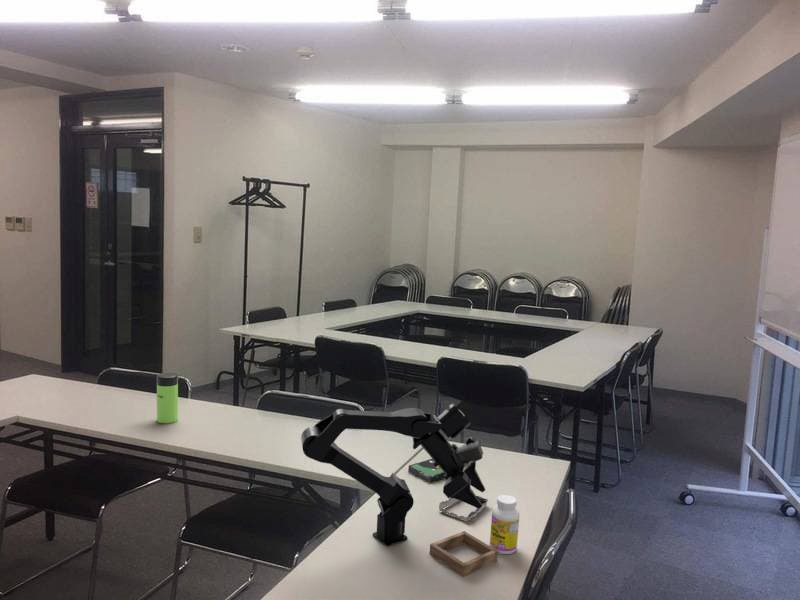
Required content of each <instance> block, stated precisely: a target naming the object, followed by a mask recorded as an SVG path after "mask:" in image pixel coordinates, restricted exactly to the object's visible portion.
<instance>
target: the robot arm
mask: <svg viewBox="0 0 800 600" xmlns="http://www.w3.org/2000/svg"><path fill="white" fill-rule="evenodd" d="M471 424H472V423H471V421H470V420H469V419H468V417H467V416H466V415H465V414H464V413H463V412H462V411H461V410H460V409H459V408H458V407H457V406H456V405H455V404H454V403H450V404H449V406H447V408H446V409H445V410H444V411H443V412H442V413H441V414H439V415H438V416H436V415H435V414H433V413H429V412H423V410H422V409H420V408H417V407H409V408H401V409H399V410H396V411H389V412H388V411H377V410H375V411H374V410H373V411H372V410H358V409H357V410H354V409H353V410H352V409H344V408H338V409H336V410H334V412H332V413H331V414H330V415H328V416H326V417H324V418H322V419H321V420H319V421H318V422H317V423H316V424H314V425H313V426H308V427H307V428H305V429H304V430H303V431H302V433H301V436H300V440H301V447H302V451H303V454H304V455H305V457H307V458H309V459H311V460H314V461H316V462H318V463H323V464H327V465H332V466H333V467H335V468H336V469H338V470H340V471H341V472H343V473H344V474H346V475H347V476H349V477H350V478H352V479H354V480H355V481H357V482H358V483H359V484H361V485H363V486H364V487H366V488H367V489H369V490H371V491H372V492H374V493H375V494H377V495H378V496H379V497H378V498H377V499H376V502H377V505H378V507H379V509H380V512H379V513H378V514H377V515H376V519H377V521H376V532H372V536H373V537H374V538H375V539H376V540H378V541H379V542H381V543H382V544H384V545H385V546H387V547H389V546H393V545H394V544H398V543H400V542H403V541H406V540H408V536H407V534H405V533H406V532H405V530H406V529H405V528H406V518H407V514H408V512H410V510H411V509H412V508H413V507H414V497H413V495H412V493H411V490H410V488H409V486H408V484H407V482H406V481H405V479H403V478H399V477H398V475H396V474H395V473H394V472H391V475H390V476H385V475H382V474H380V473H379V472H378V471H376V470H374V469H373V468H372V467H370V466H368V465H367V464H365V463H364V462H362V461H360V460H359V459H358V458H356V457H354V456H353V455H351V454H349V453H348V452H347V451H345V450H344V449H342V448H340V446H338V445H337V444H336V442H335V441H336V440H337V438H338V437H339V436H341V434H342V433H343V432H344V431H345V430H346V429H347V430H369V431H386V432H387V431H388V432H389V431H390V432H395V433H398V434H401V435H403V436H406V437H409V438H410V437H411V438H412V449H413V450H416V449H418V447H419V446H421V447H422V448H423V450H424V451H425V452H426V453H427V454H428V455H429V457H430V459H433V460H434V463H433V464H434V465H435V467H437V466H439V467H440V468H441V469H442V470H443V472H444V473H445V476H444V477H445V479H446V481H445V482H444V483H443V489H442V493H443V494H444V496H445V497H446V498H447V499H449V498H452V499H453V498H455V499H457V500H460V501H459V502H463V503H466V504H467V505H470V506H471V507H474V508H476V509H477V508H478V509H479V508H480V507H482V504H481V503H480V501H479V500H478V498H477V497H476V496H477V495H476V493H475V492H474V490H473V489H472V487H473V488H474V489H475V490H478V491H479V492H481V493H484V492H485V491H486V488H485V486H484V484H483V482H482V479H481V478H480V476H479V474H478V471H477V469H476V466H477V462H478V461H480V460H482V459H483V455H484V452H483V449H482V447H481V446H482V443H481V442H480V441H479V440H478V439H477V440H476V439H475V437H473V436H471V437H467V438H466V442H465V444H463V445H462V446H459V447H458V445H456V444H454V443H452V444H451V443H450V442H449V441H448V439H449V438H450V437H451V439H455V438H457V437H458V435H460V434H461V433H462V432H463V431H465V429H467V427H469V426H470V425H471ZM440 431H442V432H443V434H444V435H445V436H446V437H447V438H448V439H447V438H445V436H444V435H443V434H442V432H440Z"/></svg>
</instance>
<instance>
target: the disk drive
mask: <svg viewBox="0 0 800 600" xmlns="http://www.w3.org/2000/svg"><path fill="white" fill-rule="evenodd" d="M433 463H434V460H433V459H432V458H429V459H427V460H423V461H420V462H416V463H413V464H410V465H409V464H408V470H407V471H408V473H409V474H411V475H413V476H415V477H417V478H419V479H420V478H421V479H420V480H422V479H423V480H422V481H424V480H425V482H426V481H427V482H426V483H428V482H429V484H432V482H433V483H435V482H438V480H439V481H442V480H444V479H446V478H445V477H444V476H445V473H444V472H443V470H442V469H441V468H440V467H439V466H437V467H435V465H434V464H433Z"/></svg>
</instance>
